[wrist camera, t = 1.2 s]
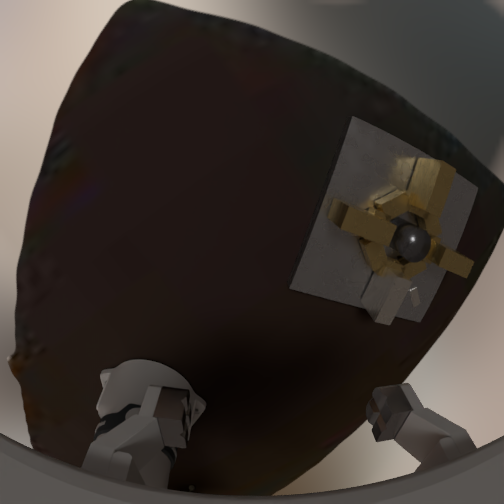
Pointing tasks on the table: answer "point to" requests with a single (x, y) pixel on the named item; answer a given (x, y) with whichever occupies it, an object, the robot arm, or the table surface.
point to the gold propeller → (382, 230)
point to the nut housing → (363, 196)
